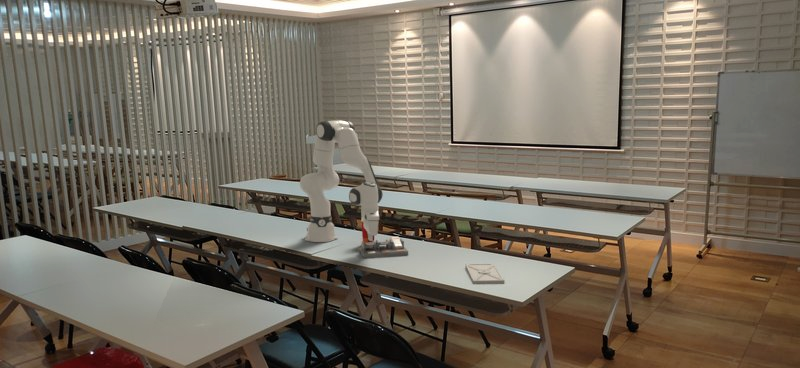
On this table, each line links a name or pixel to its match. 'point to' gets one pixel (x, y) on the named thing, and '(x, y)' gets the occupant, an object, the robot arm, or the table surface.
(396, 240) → the rocker
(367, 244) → the rocker
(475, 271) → the envelope
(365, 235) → the coffee cup
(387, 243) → the rocker
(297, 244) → the table surface
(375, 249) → the switch panel
